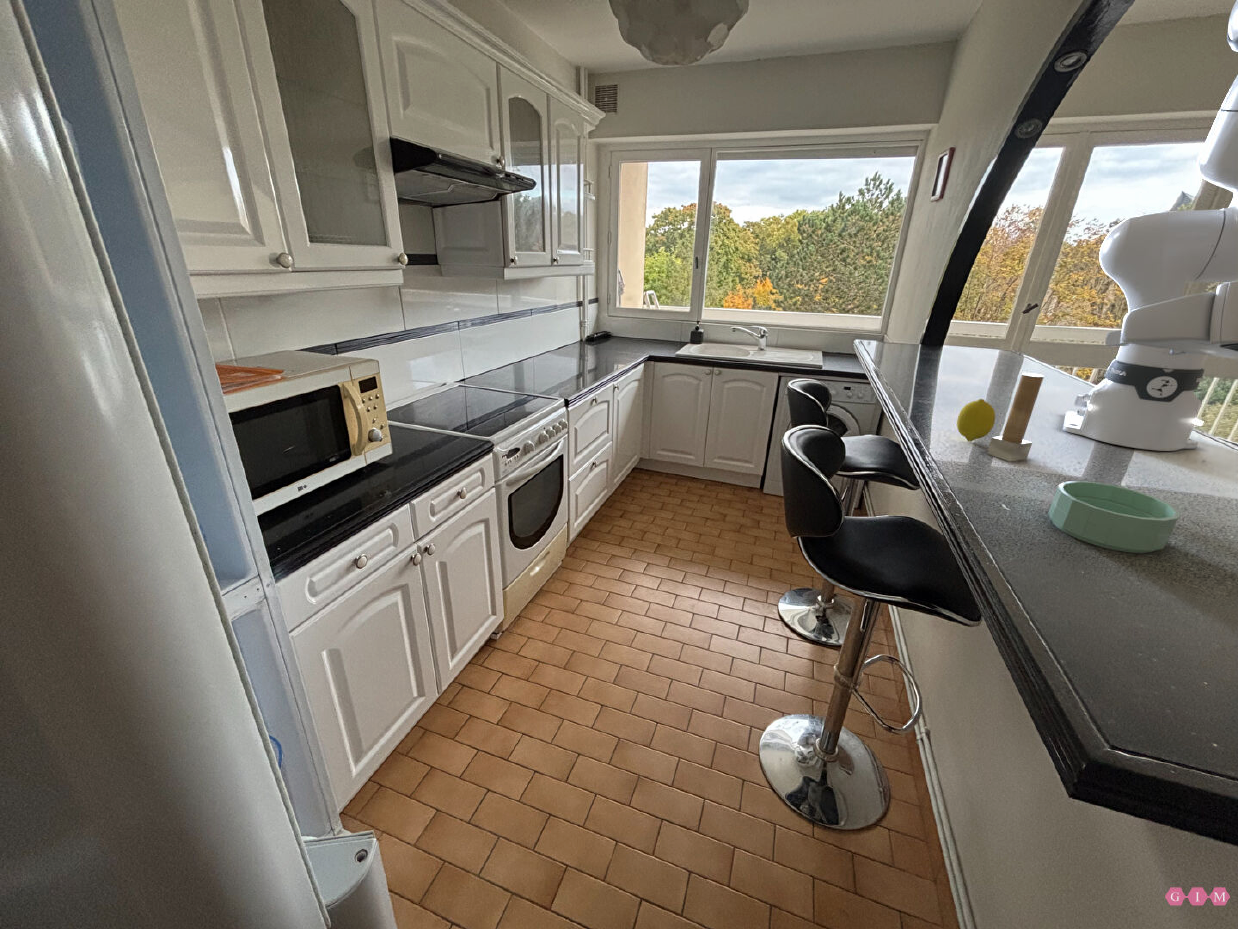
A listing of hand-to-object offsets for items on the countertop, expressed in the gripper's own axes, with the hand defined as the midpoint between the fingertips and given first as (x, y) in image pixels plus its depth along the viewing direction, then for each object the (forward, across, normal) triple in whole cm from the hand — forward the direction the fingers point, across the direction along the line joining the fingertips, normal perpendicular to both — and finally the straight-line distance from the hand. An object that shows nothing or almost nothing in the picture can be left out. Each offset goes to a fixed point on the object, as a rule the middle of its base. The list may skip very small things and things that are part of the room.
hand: (1139, 344), depth 66 cm
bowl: (-4, +8, +24) cm, 26 cm away
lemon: (+26, -2, +13) cm, 30 cm away
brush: (+19, -2, +15) cm, 25 cm away
